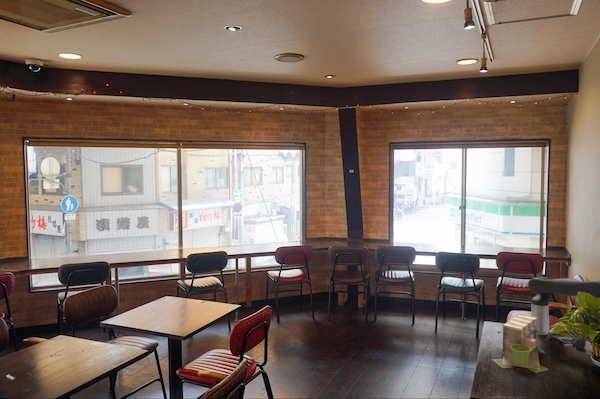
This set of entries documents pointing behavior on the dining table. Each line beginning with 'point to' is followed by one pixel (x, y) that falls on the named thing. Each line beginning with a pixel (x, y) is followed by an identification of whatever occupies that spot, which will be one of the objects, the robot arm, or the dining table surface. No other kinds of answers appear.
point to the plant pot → (520, 354)
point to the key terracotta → (529, 342)
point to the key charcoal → (535, 334)
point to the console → (517, 332)
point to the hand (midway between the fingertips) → (550, 338)
